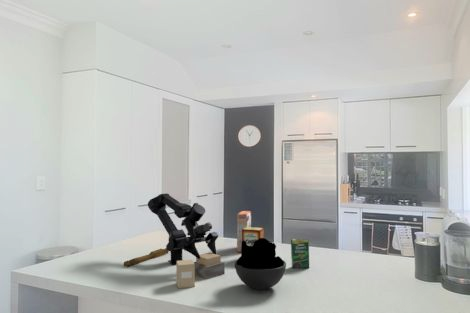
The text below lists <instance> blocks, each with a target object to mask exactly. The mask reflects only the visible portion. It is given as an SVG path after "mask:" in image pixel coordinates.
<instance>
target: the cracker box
mask: <svg viewBox="0 0 470 313" xmlns="http://www.w3.org/2000/svg"><path fill="white" fill-rule="evenodd" d="M236 222H237V223H236V225H237V226H236V227H237V228H236V230H237V231H236V232H237V234H236V240H237V241H236V245H237V246H236V252H237V253H242V252H241V247H242V229H243V228H245V227H252V211H250V210H242V211H240V212H238V213H237V221H236Z"/></svg>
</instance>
